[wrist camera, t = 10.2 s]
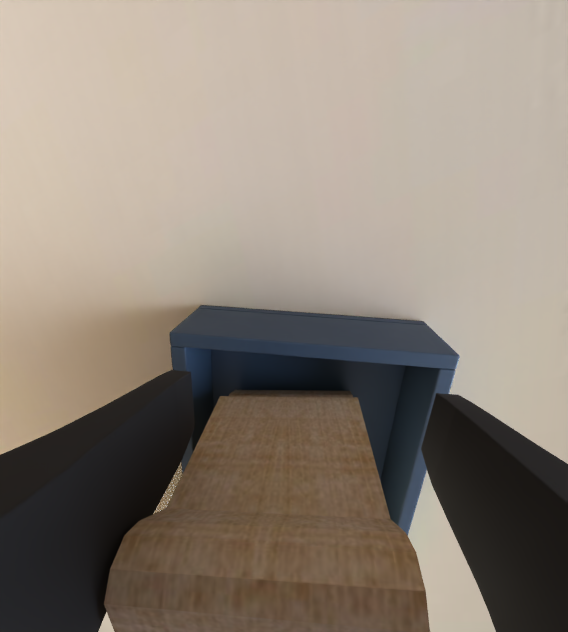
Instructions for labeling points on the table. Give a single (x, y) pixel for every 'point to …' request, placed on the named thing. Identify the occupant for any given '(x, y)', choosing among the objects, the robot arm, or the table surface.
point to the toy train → (272, 530)
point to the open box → (325, 377)
